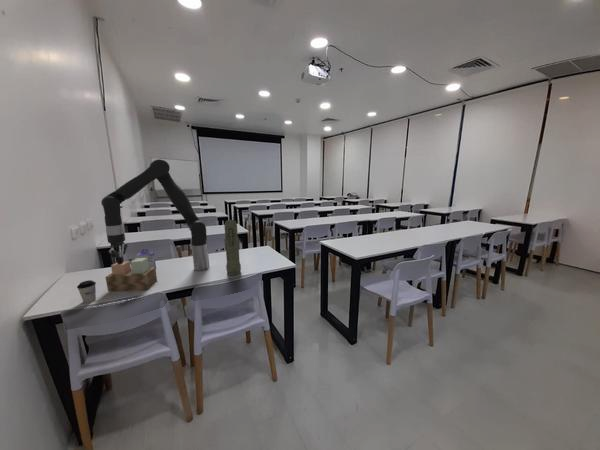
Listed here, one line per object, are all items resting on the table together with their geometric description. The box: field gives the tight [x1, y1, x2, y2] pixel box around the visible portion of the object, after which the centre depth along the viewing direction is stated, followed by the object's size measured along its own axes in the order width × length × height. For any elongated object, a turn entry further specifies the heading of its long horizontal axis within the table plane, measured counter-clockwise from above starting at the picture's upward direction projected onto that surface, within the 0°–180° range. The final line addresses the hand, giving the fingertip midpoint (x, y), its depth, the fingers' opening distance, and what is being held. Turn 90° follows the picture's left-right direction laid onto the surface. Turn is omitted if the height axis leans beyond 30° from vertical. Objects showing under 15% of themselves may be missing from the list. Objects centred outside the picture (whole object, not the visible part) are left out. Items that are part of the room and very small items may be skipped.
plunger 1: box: [110, 260, 131, 275], centre depth 128 cm, size 6×6×10 cm
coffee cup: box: [76, 279, 97, 304], centre depth 114 cm, size 7×7×10 cm
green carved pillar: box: [223, 219, 242, 277], centre depth 144 cm, size 9×12×35 cm
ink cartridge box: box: [135, 248, 157, 269], centre depth 151 cm, size 10×6×14 cm, turn 116°
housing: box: [105, 267, 158, 293], centre depth 129 cm, size 20×11×9 cm, turn 96°
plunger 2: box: [130, 257, 150, 274], centre depth 128 cm, size 6×6×10 cm
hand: (120, 263), depth 127 cm, fingers closed
